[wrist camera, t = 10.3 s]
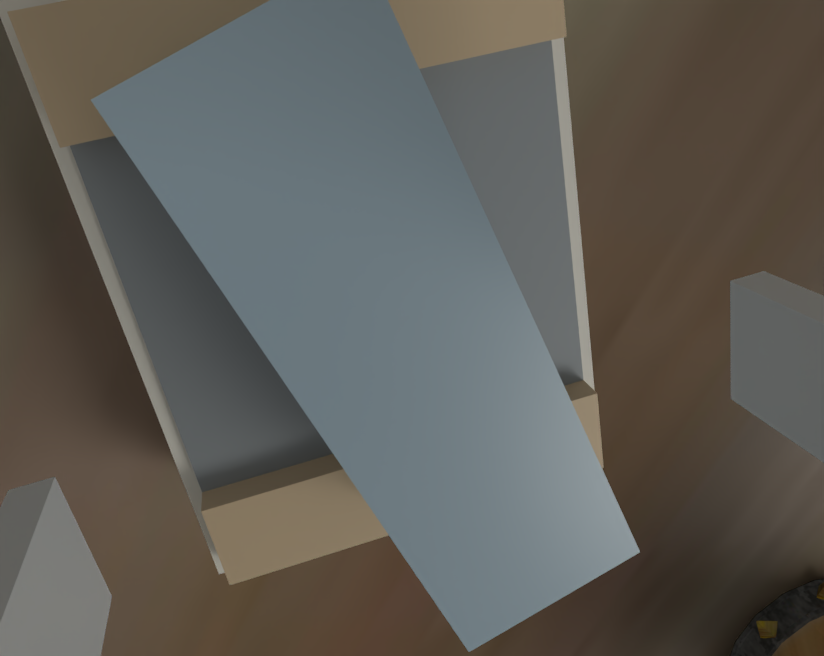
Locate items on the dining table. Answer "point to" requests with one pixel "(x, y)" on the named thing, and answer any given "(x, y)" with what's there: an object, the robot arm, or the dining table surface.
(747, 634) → the mug
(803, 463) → the dining table surface
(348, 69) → the blue-gray rectangular block
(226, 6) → the stand
